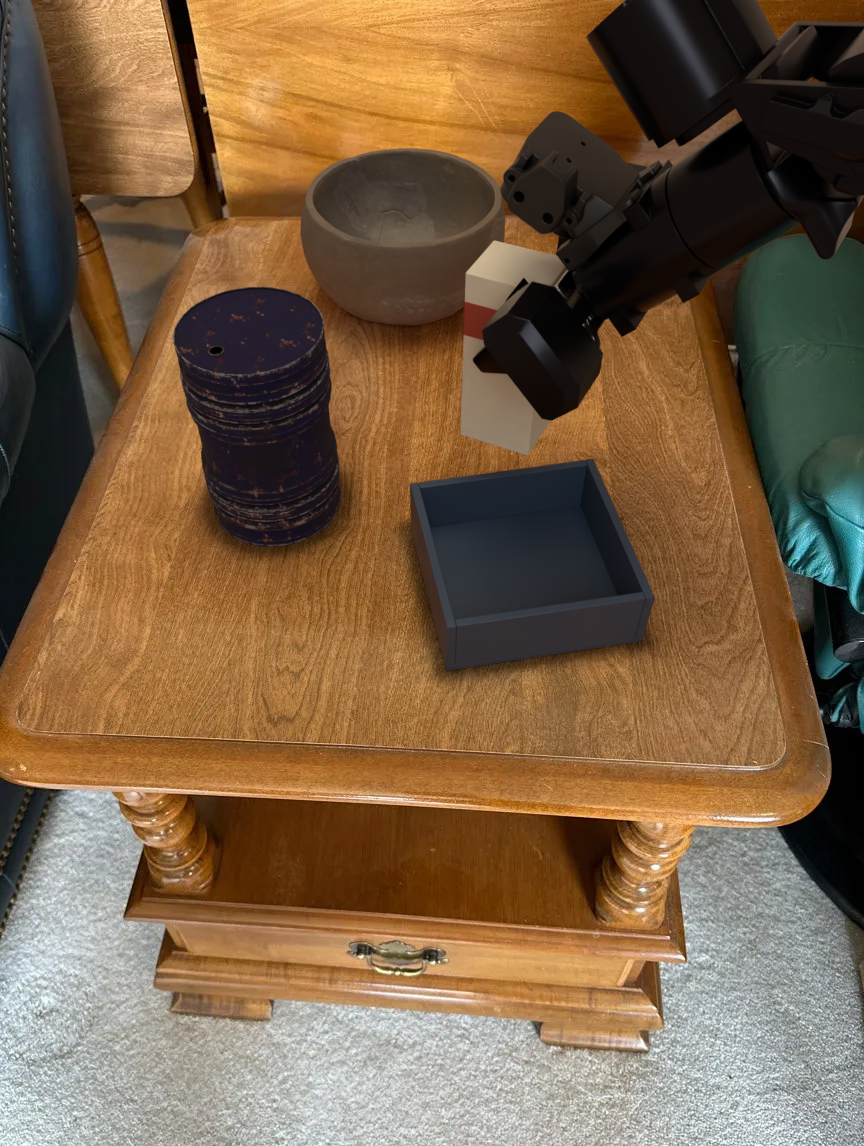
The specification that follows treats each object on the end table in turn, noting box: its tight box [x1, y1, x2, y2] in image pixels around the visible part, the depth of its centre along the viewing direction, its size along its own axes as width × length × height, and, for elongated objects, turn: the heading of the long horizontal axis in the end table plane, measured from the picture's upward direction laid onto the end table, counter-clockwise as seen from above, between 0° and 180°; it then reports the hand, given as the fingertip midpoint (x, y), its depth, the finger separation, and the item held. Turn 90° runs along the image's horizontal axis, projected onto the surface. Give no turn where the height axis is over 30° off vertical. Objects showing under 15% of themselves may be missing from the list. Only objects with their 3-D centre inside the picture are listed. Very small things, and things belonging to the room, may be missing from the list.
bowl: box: [299, 147, 506, 326], centre depth 85 cm, size 17×18×10 cm
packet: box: [459, 241, 567, 457], centre depth 61 cm, size 5×4×12 cm
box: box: [409, 458, 656, 672], centre depth 65 cm, size 13×13×4 cm
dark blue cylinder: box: [172, 286, 342, 547], centre depth 67 cm, size 10×10×15 cm
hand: (492, 346), depth 61 cm, fingers closed on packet, 4 cm apart
